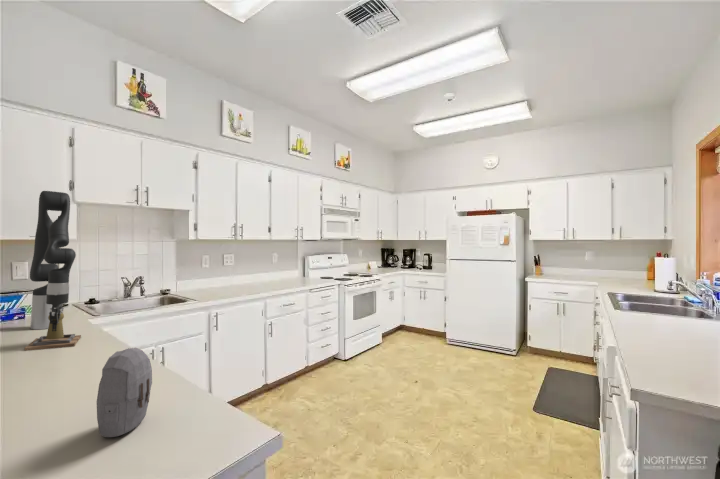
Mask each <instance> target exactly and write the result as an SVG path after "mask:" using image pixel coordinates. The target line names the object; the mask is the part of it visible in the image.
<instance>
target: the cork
mask: <svg viewBox="0 0 720 479" xmlns="http://www.w3.org/2000/svg"><path fill="white" fill-rule="evenodd" d="M58 316H59V315H58ZM64 318H65V315H64V312H63V313H61V317H60V318H59V324H57V330H56V331H52V324H50V323H49V327H48V328H47V332H46V335H45V336H46V339H59V338H63V337H64V335H65V334H64V333H65V332H64V326H63V325H64V324H63V319H64ZM48 319H49V320H50V315H49V317H48ZM53 321H56V319H53ZM53 330H55V329H53Z"/></svg>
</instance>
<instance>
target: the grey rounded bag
mask: <svg viewBox="0 0 720 479" xmlns="http://www.w3.org/2000/svg"><path fill="white" fill-rule="evenodd" d="M101 371H102V372H101V378H100V381H99V384H98V389H97V398H96V419H97V425H98V432H99V434H100V435H101V436H102V437H104V438H115V437H119V436H122V435H125V434H127V433H128V432H129V433H130V431H133V430H134V429H135V428H136V427H137V426H139V425H140V424H141V423H142V421H143V420H144V419H145V418H146V416H147V410H148V406H149V403H150V397H151V388H152V385H153V368H152V364H151V361H150V357H148V355H147V353H146V352H145V351H144V350H143V349H140V348H137V347H128V348H125V349H123V350H117V351H115V352H114V353H113V354H112V355H111V356H109V357H108V359H107V361H106V362H105V364H104V366H103V368H102V370H101Z"/></svg>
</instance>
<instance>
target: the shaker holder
mask: <svg viewBox="0 0 720 479" xmlns="http://www.w3.org/2000/svg"><path fill="white" fill-rule="evenodd" d="M46 336H47V335H42V336H39V337H37V338H35V339H34V340H33V341H31V342H30V343H28V345H26V346H25V347H24V351H25V352H27V351H36V350H51V349H59V348H60V349H61V348H72V347H75V346H76V345H77V344H78V342H79V341H80V340H81V338H82V335H81V334H79V335H78V334H75V333H70V334H64V337H63V338H59V339H46Z"/></svg>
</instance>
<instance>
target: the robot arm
mask: <svg viewBox="0 0 720 479" xmlns="http://www.w3.org/2000/svg"><path fill="white" fill-rule="evenodd" d="M49 211H52V212H54V211H55V212H60V215H59V216H58V217H57V218H56V220H55V219H54V221H53V220H52V219H51V218H50V216H49V213H48V212H49ZM70 212H71V196H70V195H69V194H68V193H66V192H62V191H51V190H42V191H41V192H40V193H39V198H38V212H37V213H38V214H37V215H38V216H37V217H38V218H37V225H36V229H35V236H34V248H33V256H32V260H31V266H30V270H29V278H30V280H31V281H32V282H35V283H36V282H37V283H38V282H47V284H45V285H43V286H40V287H37V288H34V289H33V290H32V298H31V310H30V312H31V313H30V330H45V329H48V327H49V323H50V324H52V331H56V330H57V324H59V318H60V317H61V313H63V314H64V308H65V307H64V306H63V305H65V304H68V303H69V295H70V284H69V282H70V272H71V269H72V266H73V264H74V262H75V260H76V256H77V254H76V251H75V250H74V249H73V248H70V247H69V248H67V247H66V246H68V245H69V243H70V236H69V235H70V234H69V222H70ZM65 247H66V248H65ZM43 261H45V262H46V263H43ZM58 264H59V265H62V267H59V265H58ZM49 315H50V320H49V319H48V317H49ZM58 315H59V316H58ZM53 319H56V321H53ZM53 329H55V330H53Z"/></svg>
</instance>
